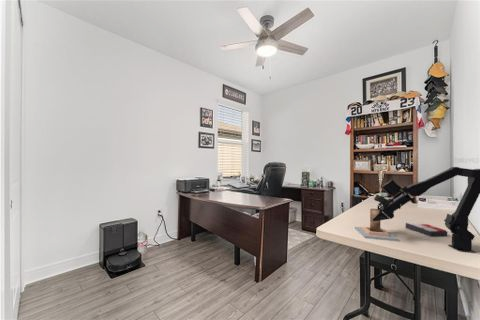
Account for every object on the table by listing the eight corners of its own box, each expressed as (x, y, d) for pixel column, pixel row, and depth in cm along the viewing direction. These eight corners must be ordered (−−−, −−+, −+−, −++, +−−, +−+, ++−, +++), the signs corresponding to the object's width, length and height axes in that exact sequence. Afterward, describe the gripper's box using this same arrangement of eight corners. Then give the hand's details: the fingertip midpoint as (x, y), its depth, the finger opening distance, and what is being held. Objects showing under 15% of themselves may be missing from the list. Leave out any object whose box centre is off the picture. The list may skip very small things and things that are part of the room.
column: (382, 233, 109) (382, 210, 110) (376, 234, 108) (376, 210, 108) (374, 230, 114) (374, 208, 114) (367, 231, 112) (368, 208, 113)
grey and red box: (431, 230, 109) (405, 221, 124) (430, 238, 109) (405, 228, 124) (448, 230, 111) (420, 221, 126) (447, 237, 111) (420, 227, 126)
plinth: (399, 241, 101) (399, 236, 101) (364, 237, 105) (364, 233, 105) (384, 231, 117) (384, 226, 117) (354, 228, 121) (354, 224, 121)
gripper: (382, 188, 117) (360, 204, 123) (386, 192, 101) (360, 210, 107) (399, 203, 113) (376, 219, 118) (405, 209, 97) (378, 227, 103)
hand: (372, 218), depth 112 cm, fingers open, 9 cm apart
